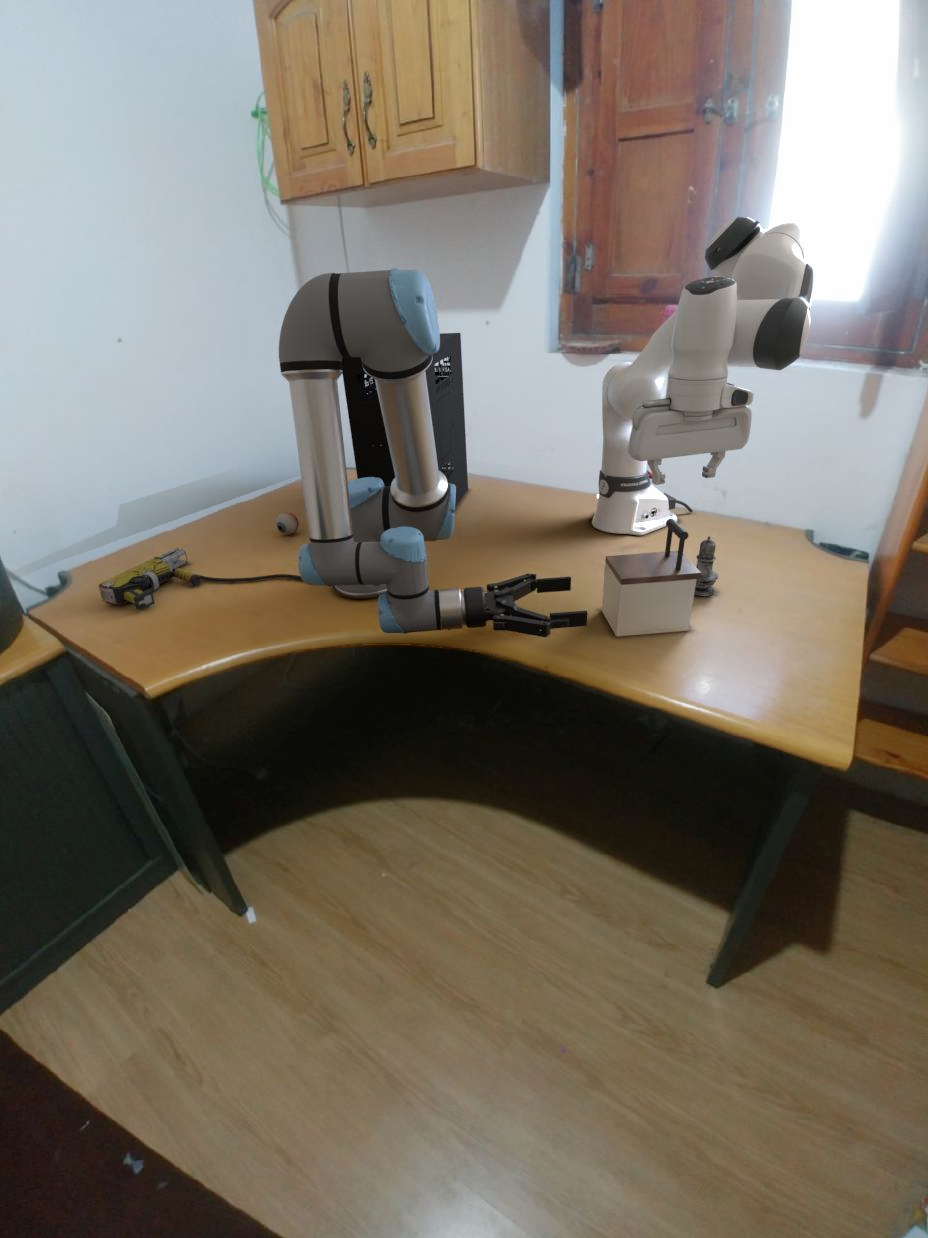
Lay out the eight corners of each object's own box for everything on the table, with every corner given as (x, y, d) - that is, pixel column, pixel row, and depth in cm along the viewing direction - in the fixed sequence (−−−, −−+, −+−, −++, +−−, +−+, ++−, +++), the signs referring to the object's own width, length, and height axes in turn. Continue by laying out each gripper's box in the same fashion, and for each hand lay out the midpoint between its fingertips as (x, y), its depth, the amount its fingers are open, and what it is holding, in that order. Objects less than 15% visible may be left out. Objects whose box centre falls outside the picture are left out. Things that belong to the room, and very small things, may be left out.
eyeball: (273, 537, 164) (268, 516, 161) (287, 528, 169) (282, 508, 166) (291, 539, 161) (286, 518, 158) (305, 530, 166) (301, 510, 163)
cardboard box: (436, 534, 159) (422, 349, 137) (364, 531, 164) (339, 351, 141) (468, 489, 191) (460, 332, 168) (407, 487, 195) (391, 335, 173)
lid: (679, 555, 115) (685, 513, 111) (700, 578, 107) (708, 533, 103) (605, 561, 115) (608, 519, 111) (620, 585, 106) (624, 540, 102)
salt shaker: (717, 597, 122) (727, 542, 116) (687, 595, 123) (695, 541, 117) (713, 584, 127) (722, 531, 121) (684, 583, 128) (692, 530, 122)
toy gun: (224, 556, 146) (173, 545, 150) (148, 597, 126) (92, 584, 130) (226, 573, 148) (177, 563, 152) (152, 617, 128) (97, 603, 132)
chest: (668, 605, 121) (675, 556, 115) (688, 630, 112) (696, 579, 107) (601, 610, 120) (605, 561, 115) (616, 636, 112) (620, 585, 106)
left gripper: (461, 594, 123) (564, 587, 124) (468, 663, 102) (593, 654, 102) (459, 561, 120) (565, 554, 120) (466, 625, 98) (595, 615, 99)
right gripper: (644, 405, 91) (635, 493, 98) (763, 392, 95) (747, 478, 102) (625, 398, 97) (618, 482, 104) (738, 386, 100) (725, 468, 107)
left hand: (578, 599), depth 111 cm, fingers open, 13 cm apart
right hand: (683, 480), depth 103 cm, fingers open, 8 cm apart
